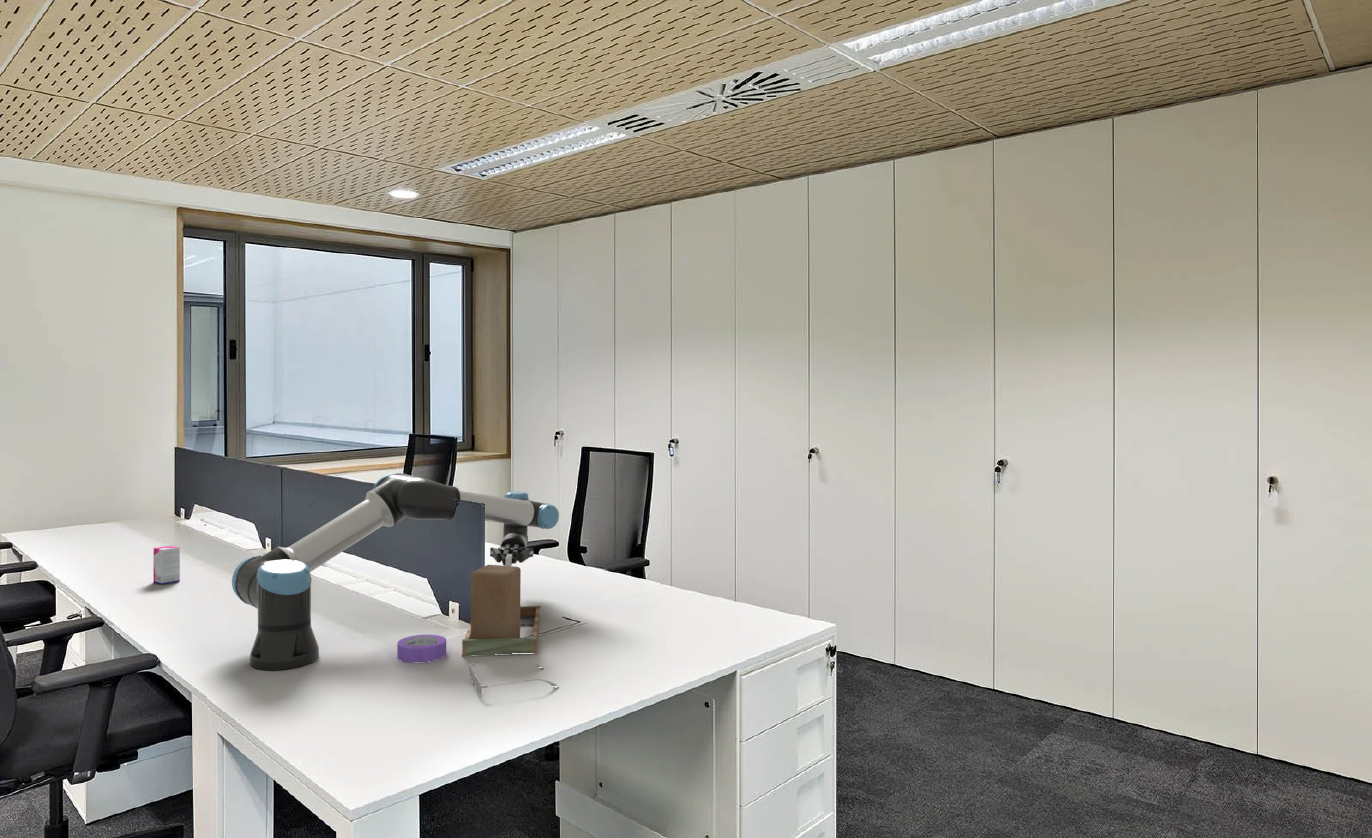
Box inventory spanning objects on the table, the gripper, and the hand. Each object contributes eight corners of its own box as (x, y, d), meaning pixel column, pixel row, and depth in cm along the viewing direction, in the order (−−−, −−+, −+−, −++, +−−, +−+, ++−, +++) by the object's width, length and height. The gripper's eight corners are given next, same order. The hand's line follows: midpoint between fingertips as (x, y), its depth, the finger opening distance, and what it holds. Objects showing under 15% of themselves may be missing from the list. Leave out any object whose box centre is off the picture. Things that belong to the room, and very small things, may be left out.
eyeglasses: (467, 678, 199) (467, 661, 199) (544, 669, 206) (544, 652, 206) (480, 702, 185) (480, 684, 185) (561, 691, 192) (561, 673, 192)
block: (505, 653, 216) (506, 574, 215) (469, 649, 218) (469, 572, 217) (521, 641, 225) (522, 565, 224) (486, 638, 228) (486, 563, 226)
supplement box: (180, 581, 281) (180, 547, 281) (161, 585, 276) (161, 550, 276) (171, 579, 284) (171, 544, 284) (152, 582, 279) (152, 547, 279)
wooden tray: (535, 654, 215) (535, 638, 215) (462, 656, 212) (462, 640, 212) (540, 616, 249) (540, 602, 248) (476, 617, 246) (476, 603, 246)
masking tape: (407, 647, 219) (407, 633, 219) (452, 649, 219) (452, 634, 219) (389, 663, 207) (389, 647, 207) (437, 664, 207) (437, 649, 207)
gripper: (534, 559, 263) (531, 576, 239) (491, 559, 261) (483, 577, 237) (535, 535, 262) (532, 550, 239) (491, 535, 260) (484, 550, 237)
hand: (508, 563), depth 238 cm, fingers closed
